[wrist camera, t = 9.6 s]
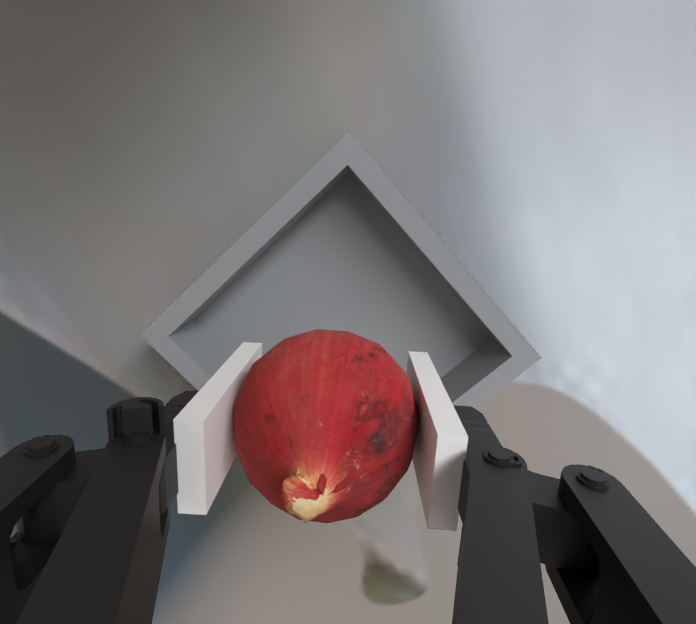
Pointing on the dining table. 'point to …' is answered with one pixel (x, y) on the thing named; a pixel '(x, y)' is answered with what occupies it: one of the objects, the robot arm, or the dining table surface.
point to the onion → (325, 425)
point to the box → (345, 285)
